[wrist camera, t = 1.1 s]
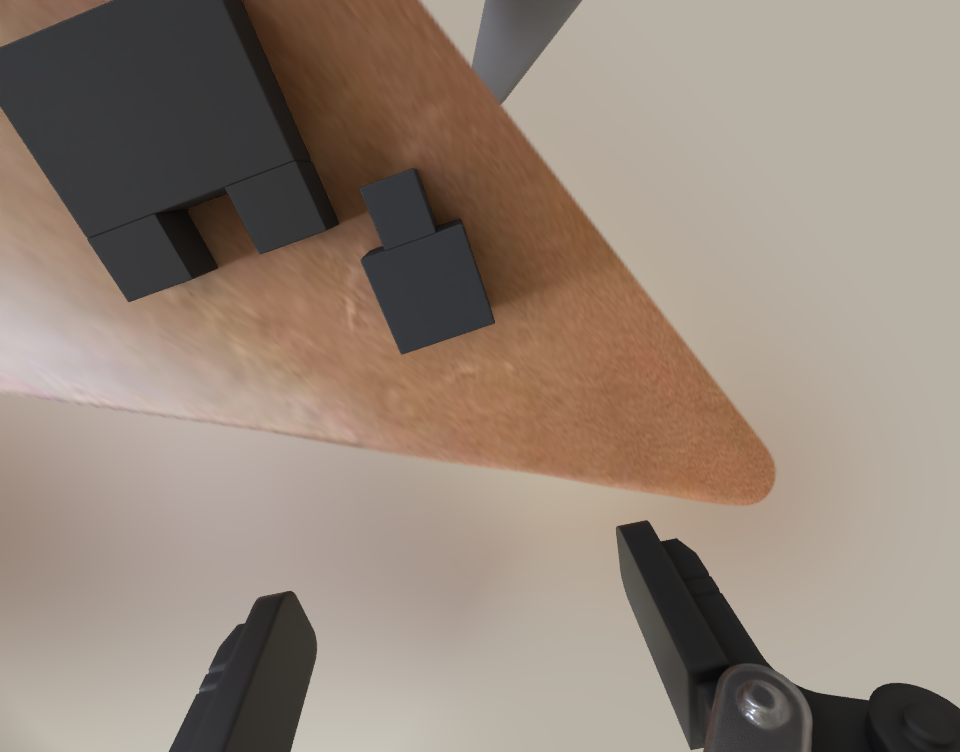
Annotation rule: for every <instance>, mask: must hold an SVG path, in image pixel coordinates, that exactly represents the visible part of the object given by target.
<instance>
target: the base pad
mask: <svg viewBox="0 0 960 752" xmlns="http://www.w3.org/2000/svg"><path fill="white" fill-rule="evenodd" d="M0 107H1V108H2V110H3V111H4V113H5V114H6V116H7V117H8V119H9V120H10V122H11V124H12V125H13V127H14V128H15V130H16V131H17V133H18V134H19V136H20V137H21V139H22V140H23V142H24V143H25V145H26V146H27V148H28V149H29V151H30V152H31V154H32V155H33V157H34V159H35V160H36V162H37V163H38V165H39V166H40V168H41V169H42V171H43V172H44V174H45V175H46V177H47V178H48V180H49V181H50V183H51V184H52V186H53V187H54V189H55V190H56V192H57V193H58V195H59V197H60V198H61V200H62V201H63V203H64V204H65V206H66V207H67V209H68V210H69V212H70V213H71V215H72V216H73V218H74V219H75V221H76V222H77V224H78V225H79V227H80V228H81V230H82V232H83V233H84V235H85V236H86V237H87V238H89V239H87V240H88V241H89V243H90V244H91V246H92V247H93V249H94V251H95V252H96V254H97V255H98V257H99V258H100V260H101V261H102V263H103V264H104V266H105V267H106V269H107V270H108V272H109V273H110V275H111V276H112V278H113V279H114V281H115V282H116V284H117V285H118V287H119V289H120V290H121V292H122V293H123V295H124V296H125V298H126V299H127V301H128V302H131V301H133V300H136V299H139V298H142V297H144V296H147V295H150V294H153V293H155V292H158V291H161V290H164V289H166V288H169V287H172V286H175V285H178V284H180V283H183V282H186V281H189V280H191V279H194V278H196V277H199V276H201V275H203V274H206V273H208V272H211V271H213V270H215V269H218V266H217V264H216V263H215V261H214V259H213V257H212V255H211V254H210V252H209V250H208V248H207V246H206V245H205V243H204V241H203V239H202V238H201V236H200V234H199V232H198V230H197V229H196V227H195V225H194V223H193V221H192V220H191V218H190V216H189V214H188V213H187V211H186V210H185V209H187V208H190V207H193V206H195V205H198V204H201V203H203V202H206V201H209V200H211V199H214V198H217V197H219V196H222V195H224V194H227V193H228V195H229V197H230V199H231V201H232V202H233V204H234V206H235V208H236V210H237V212H238V214H239V216H240V218H241V220H242V222H243V224H244V226H245V228H246V229H247V231H248V233H249V235H250V237H251V239H252V241H253V243H254V245H255V247H256V249H257V251H258V253H259V254H263V253H266V252H269V251H271V250H274V249H277V248H280V247H282V246H285V245H288V244H291V243H293V242H296V241H299V240H302V239H304V238H307V237H310V236H313V235H315V234H318V233H321V232H324V231H326V230H328V229H331V228H333V227H335V226H337V225H339V222H338V220H337V217H336V215H335V213H334V210H333V208H332V206H331V204H330V201H329V199H328V197H327V194H326V192H325V190H324V188H323V185H322V183H321V181H320V178H319V176H318V174H317V172H316V169H315V167H314V165H313V163H312V162H311V158H310V156H309V154H308V151H307V149H306V147H305V145H304V142H303V140H302V138H301V135H300V133H299V131H298V129H297V126H296V124H295V122H294V119H293V117H292V115H291V112H290V110H289V108H288V106H287V103H286V101H285V99H284V96H283V94H282V92H281V90H280V87H279V85H278V83H277V80H276V78H275V76H274V74H273V71H272V69H271V67H270V64H269V62H268V60H267V58H266V55H265V53H264V51H263V48H262V46H261V44H260V42H259V39H258V37H257V35H256V32H255V30H254V28H253V26H252V23H251V21H250V19H249V16H248V14H247V12H246V10H245V7H244V5H243V3H242V0H113V1H110V2H108V3H105V4H103V5H101V6H98V7H96V8H93V9H91V10H89V11H86V12H84V13H81V14H79V15H77V16H74V17H72V18H69V19H67V20H65V21H62V22H60V23H57V24H55V25H53V26H50V27H48V28H45V29H43V30H41V31H38V32H36V33H33V34H31V35H29V36H26V37H24V38H21V39H19V40H17V41H14V42H12V43H10V44H7V45H5V46H2V47H0Z"/></svg>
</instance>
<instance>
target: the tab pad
mask: <svg viewBox="0 0 960 752" xmlns="http://www.w3.org/2000/svg"><path fill="white" fill-rule="evenodd" d="M360 190H361V193H362V195H363V198H364V200H365V203H366V205H367V207H368V210H369V212H370V215H371V217H372V220H373V222H374V225H375V227H376V230H377V232H378V234H379V237H380V239H381V242H382V244H383V246H382V247H379V248H376V249H373V250H371V251H369V252H368V253H367V254H366V255H365V256H364V257H363V258H362V259H361V263H362V265H363V268H364V270H365V272H366V275H367V277H368V279H369V282H370V284H371V286H372V288H373V291H374V293H375V295H376V298H377V300H378V302H379V305H380V307H381V309H382V312H383V314H384V316H385V319H386V321H387V323H388V325H389V328H390V330H391V332H392V335H393V337H394V339H395V342H396V344H397V346H398V349H399V351H400V353H401V354H405V353H408V352H411V351H414V350H417V349H420V348H423V347H426V346H429V345H432V344H435V343H438V342H441V341H444V340H447V339H450V338H453V337H456V336H459V335H462V334H465V333H468V332H471V331H474V330H477V329H479V328H482V327H485V326H488V325H491V324H494V323H495V320H494V317H493V314H492V310H491V307H490V304H489V301H488V298H487V295H486V292H485V289H484V286H483V283H482V280H481V277H480V274H479V271H478V268H477V265H476V262H475V259H474V256H473V253H472V250H471V247H470V244H469V241H468V238H467V235H466V232H465V229H464V226H463V223H462V220H461V219H457V220H455V221H452V222H449V223H446V224H443V225H441V226H438V227H437V223H436V221H435V218H434V215H433V212H432V209H431V206H430V204H429V201H428V198H427V195H426V192H425V190H424V187H423V184H422V181H421V178H420V175H419V173H418V170H417V169H413V168H412V169H409V170H407V171H404V172H401V173H399V174H396V175H393V176H390V177H388V178H385V179H382V180H380V181H377V182H374V183H371V184H369V185H366V186H363V187H360Z"/></svg>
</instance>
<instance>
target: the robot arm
mask: <svg viewBox="0 0 960 752" xmlns="http://www.w3.org/2000/svg"><path fill="white" fill-rule="evenodd" d="M616 535H617V544H618V553H619V561H620V571H621V576H622V581H623V585H624V588H625V592H626V595H627V597H628V600H629V603H630V605H631V607H632V610H633V612H634V615H635V617H636V619H637V622H638V624H639V627H640V629H641V631H642V634H643V636H644V638H645V641H646V643H647V646H648V648H649V651H650V653H651V656H652V658H653V660H654V662H655V665H656V668H657V670H658V672H659V675H660V677H661V679H662V682H663V684H664V687H665V689H666V691H667V694H668V696H669V699H670V701H671V704H672V706H673V708H674V711H675V713H676V715H677V718H678V721H679V723H680V725H681V727H682V730H683V733H684V735H685V737H686V740H687V742H688V744H689V747H690V749H691V750H693V749H699V748H704V751H703V752H960V709H959V708H958V707H957V706H955V705H954V704H953V703H951V702H950V701H948V700H947V699H945V698H943V697H941V696H939V695H938V694H935V693H934V692H931V691H929V690H927V689H924V688H921V687H918V686H915V685H910V684H904V683H890V684H885V685H882V686H880V687H878V688H877V689H876V690H875V691H873V693H872V695H871V696H870V699H869V700H862V699H855V698H848V697H841V696H834V695H827V694H821V693H816V692H813V691H810V690H807V689H804V688H802V687H800V686H797V685H796V684H794V683H792V682H791V681H790V680H789V679H787V678H786V677H784V676H783V675H782V674H780V673H778V672H777V671H775V670H774V669H773V668H772V667H771V666H770V665H769V664H768V663H767V662H766V660H765V659H764V658H763V656H762V655H761V653H760V652H759V650H758V649H757V647H756V646H755V644H754V642H753V641H752V639H751V638H750V636H749V635H748V633H747V632H746V630H745V628H744V627H743V625H742V624H741V622H740V621H739V619H738V618H737V616H736V615H735V613H734V611H733V610H732V608H731V607H730V605H729V604H728V602H727V601H726V599H725V598H724V596H723V594H722V593H720V591H719V588H718V587H717V585H716V583H715V582H714V580H713V579H712V577H711V576H709V573H708V571H707V569H706V568H705V566H704V565H703V563H702V562H701V560H700V559H699V557H698V556H697V554H696V553H695V552H694V551H693V550H691V549H690V548H688V547H687V546H686V545H685V544H683V543H682V542H681V541H679V540H678V539H677V538H676V539H671V540H666V541H660V540H659V538H658V536H657V534H656V533H655V531H654V529H653V527H652V526H651V525H650V523H649V522H648V521H647V520H646V521H640V522H636V523H631V524H626V525H621V526H617V527H616ZM316 654H317V642H316V636H315V632H314V630H313V628H312V626H311V624H310V622H309V620H308V618H307V616H306V614H305V612H304V610H303V608H302V606H301V604H300V602H299V600H298V598H297V597H296V595H295V594H294V592H292V591H287V592H282V593H277V594H272V595H267V596H262V597H259V598H258V599H257V600H256V601H255V603H254V605H253V607H252V609H251V612H250V614H249V616H248V618H247V620H246V623H245V624H239V625H237V626H236V628H235V629H234V630H233V631H232V632H231V634H230V635H229V636H228V637H227V639H226V640H225V641H224V642H223V643H222V644H221V646H220V647H219V649H218V651H217V653H216V655H215V657H214V659H213V662H212V664H211V666H210V668H209V673H208V674H206V676H205V678H204V680H203V682H202V684H201V687H200V688H199V690H200V691H199V694H197V695H196V697H195V699H194V701H193V703H192V705H191V707H190V709H189V711H188V713H187V715H186V717H185V719H184V722H183V724H182V726H181V728H180V730H179V732H178V734H177V736H176V738H175V740H174V742H173V744H172V746H171V748H170V750H169V752H290V751H291V748H292V744H293V740H294V737H295V732H296V729H297V726H298V722H299V718H300V715H301V711H302V707H303V704H304V700H305V697H306V693H307V689H308V685H309V682H310V678H311V675H312V671H313V668H314V664H315V660H316Z"/></svg>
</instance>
